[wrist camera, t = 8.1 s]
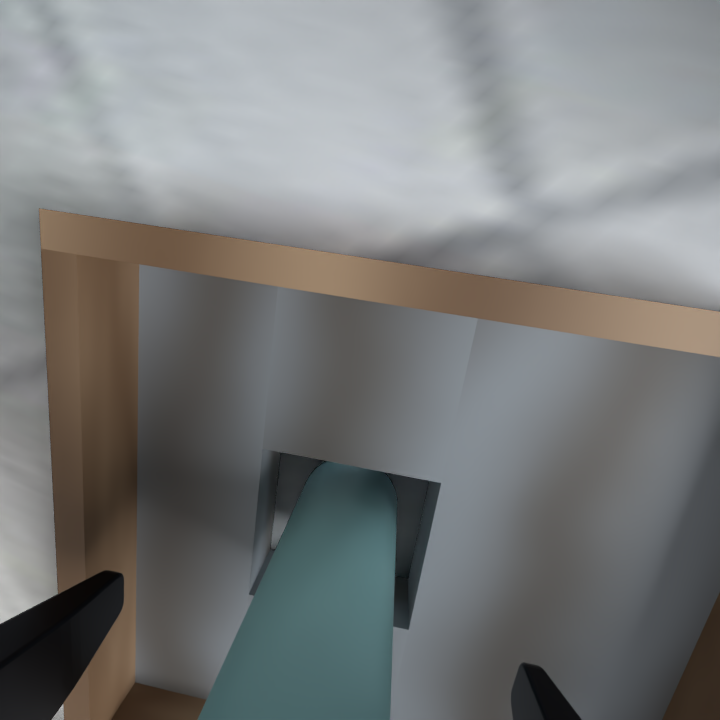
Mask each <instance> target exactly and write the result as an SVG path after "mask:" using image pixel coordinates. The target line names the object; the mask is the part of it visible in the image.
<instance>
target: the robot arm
mask: <svg viewBox="0 0 720 720" xmlns="http://www.w3.org/2000/svg"><path fill="white" fill-rule="evenodd" d="M123 604H124V576H123V574H122V573H119V572H115V571H110V570H104V571H102V572H100V573H98V574H96V575H94V576H92V577H90V578H88V579H86V580H84V581H82V582H80V583H78V584H76V585H74V586H73V587H71V588H69V589H67V590H65V591H63V592H61V593H59V594H57V595H55V596H53V597H51V598H49V599H47V600H46V601H44V602H42V603H40V604H38V605H36V606H34V607H32V608H30V609H28V610H26V611H24V612H22V613H20V614H19V615H17V616H15V617H13V618H11V619H9V620H7V621H5V622H3V623H1V624H0V720H51V719H52V718H53V717H54V715H55V714H56V713H57V711H58V710H59V708H60V707H61V706H62V704H63V703H64V702H65V700H66V699H67V697H68V696H69V694H70V693H71V692H72V690H73V689H74V687H75V686H76V684H77V683H78V681H79V679H80V678H81V676H82V675H83V673H84V671H85V670H86V668H87V667H88V665H89V663H90V662H91V660H92V658H93V657H94V655H95V653H96V652H97V650H98V649H99V647H100V645H101V644H102V642H103V640H104V639H105V637H106V636H107V634H108V632H109V631H110V629H111V627H112V626H113V624H114V623H115V621H116V619H117V618H118V616H119V614H120V612H121V610H122V608H123ZM511 708H512V716H513V720H582V719H581V718H580V716H579V715H578V714H577V712H576V711H575V710H574V708H573V707H572V706H571V704H570V703H569V702H568V700H567V699H566V698H565V697H564V695H563V694H562V693H561V691H560V690H559V689H558V687H557V686H556V685H555V683H554V682H553V681H552V679H551V678H550V677H549V675H548V674H547V673H546V671H545V670H544V669H543V668H542V667H540V666H538V665H534V664H530V663H525V662H522V663H521V664H520V665H519V668H518V671H517V674H516V677H515V680H514V683H513V687H512V690H511Z"/></svg>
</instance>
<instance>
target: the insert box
mask: <svg viewBox="0 0 720 720" xmlns="http://www.w3.org/2000/svg"><path fill="white" fill-rule="evenodd" d="M39 219H40V239H41V259H42V279H43V300H44V320H45V340H46V360H47V381H48V401H49V421H50V441H51V461H52V482H53V502H54V522H55V542H56V563H57V583H58V594H59V593H61V592H63V591H65V590H67V589H69V588H71V587H73V586H74V585H76V584H78V583H80V582H82V581H84V580H86V579H88V578H90V577H92V576H94V575H96V574H98V573H100V572H102V571H104V570H110V571H115V572H119V573H122V574H123V576H124V604H123V608H122V610H121V612H120V614H119V616H118V618H117V619H116V621H115V623H114V624H113V626H112V627H111V629H110V631H109V632H108V634H107V636H106V637H105V639H104V640H103V642H102V644H101V645H100V647H99V649H98V650H97V652H96V653H95V655H94V657H93V658H92V660H91V662H90V663H89V665H88V667H87V668H86V670H85V671H84V673H83V675H82V676H81V678H80V679H79V681H78V683H77V684H76V686H75V687H74V689H73V690H72V692H71V693H70V694H69V696H68V697H67V699H66V700H65V702H64V703H63V704H64V720H197V719H198V717H199V715H200V713H201V711H202V709H203V706H204V704H205V702H206V700H207V698H208V695H209V693H210V691H211V689H212V687H213V685H214V682H215V680H216V678H217V676H218V674H219V671H220V669H221V667H222V665H223V663H224V661H225V658H226V656H227V654H228V652H229V650H230V647H231V645H232V643H233V641H234V639H235V637H236V634H237V632H238V630H239V628H240V626H241V623H242V621H243V619H244V617H245V615H246V613H247V610H248V608H249V606H250V604H251V602H252V599H253V597H254V595H255V593H256V591H257V588H258V586H259V584H260V582H261V580H262V578H263V575H264V573H265V571H266V569H267V567H268V564H269V562H270V560H271V558H272V556H273V554H274V551H273V550H270V546H271V537H272V528H273V518H274V509H275V500H276V491H277V481H278V472H279V463H280V453H281V452H282V453H287V454H292V455H298V456H303V457H308V458H313V459H318V460H324V461H329V462H334V463H339V464H345V465H350V466H355V467H360V468H365V469H371V470H376V471H381V472H386V473H391V474H397V475H402V476H407V477H412V478H417V479H423V480H428V481H429V484H428V489H427V494H426V498H425V503H424V508H423V512H422V517H421V522H420V526H419V531H418V536H417V540H416V545H415V550H414V555H413V559H412V564H411V569H410V573H409V578H408V579H406V578H401V577H396V576H395V586H394V617H393V648H392V679H391V710H390V720H513V716H512V708H511V690H512V687H513V683H514V680H515V677H516V674H517V671H518V668H519V665H520V664H521V663H522V662H525V663H530V664H534V665H538V666H540V667H542V668H543V669H544V670H545V671H546V673H547V674H548V675H549V677H550V678H551V679H552V681H553V682H554V683H555V685H556V686H557V687H558V689H559V690H560V691H561V693H562V694H563V695H564V697H565V698H566V699H567V700H568V702H569V703H570V704H571V706H572V707H573V708H574V710H575V711H576V712H577V714H578V715H579V716H580V718H581V719H582V720H720V312H718V311H712V310H705V309H699V308H692V307H685V306H679V305H672V304H666V303H659V302H652V301H646V300H639V299H633V298H626V297H619V296H613V295H606V294H600V293H593V292H586V291H580V290H573V289H567V288H560V287H554V286H547V285H540V284H534V283H527V282H521V281H514V280H507V279H501V278H494V277H488V276H481V275H474V274H468V273H461V272H455V271H448V270H442V269H435V268H428V267H422V266H415V265H409V264H402V263H395V262H389V261H382V260H376V259H369V258H362V257H356V256H349V255H343V254H336V253H330V252H323V251H316V250H310V249H303V248H297V247H290V246H283V245H277V244H270V243H264V242H257V241H250V240H244V239H237V238H231V237H224V236H218V235H211V234H204V233H198V232H191V231H185V230H178V229H171V228H165V227H158V226H152V225H145V224H138V223H132V222H125V221H119V220H112V219H105V218H99V217H92V216H86V215H79V214H73V213H66V212H59V211H53V210H46V209H40V208H39Z"/></svg>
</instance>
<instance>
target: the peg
mask: <svg viewBox="0 0 720 720" xmlns="http://www.w3.org/2000/svg"><path fill="white" fill-rule="evenodd" d="M396 525H397V496H396V492H395V488H394V486H393V484H392V482H391V481H390V479H389V478H388V476H387V475H386V474H385V473H384V472H381V471H376V470H371V469H365V468H360V467H355V466H350V465H345V464H339V463H334V462H329V461H326V462H325V463H323V464H321V465H320V466H318V467H317V468H316V469H315V470H314V471H313V472H312V473H311V475H310V476H309V478H308V480H307V482H306V484H305V486H304V488H303V490H302V492H301V495H300V497H299V499H298V501H297V503H296V506H295V508H294V510H293V512H292V514H291V516H290V519H289V521H288V523H287V525H286V527H285V530H284V532H283V534H282V536H281V538H280V540H279V543H278V545H277V547H276V549H275V551H274V554H273V556H272V558H271V560H270V562H269V564H268V567H267V569H266V571H265V573H264V575H263V578H262V580H261V582H260V584H259V586H258V588H257V591H256V593H255V595H254V597H253V599H252V602H251V604H250V606H249V608H248V610H247V613H246V615H245V617H244V619H243V621H242V623H241V626H240V628H239V630H238V632H237V634H236V637H235V639H234V641H233V643H232V645H231V647H230V650H229V652H228V654H227V656H226V658H225V661H224V663H223V665H222V667H221V669H220V671H219V674H218V676H217V678H216V680H215V682H214V685H213V687H212V689H211V691H210V693H209V695H208V698H207V700H206V702H205V704H204V706H203V709H202V711H201V713H200V715H199V717H198V719H197V720H390V710H391V679H392V648H393V617H394V586H395V556H396Z"/></svg>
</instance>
